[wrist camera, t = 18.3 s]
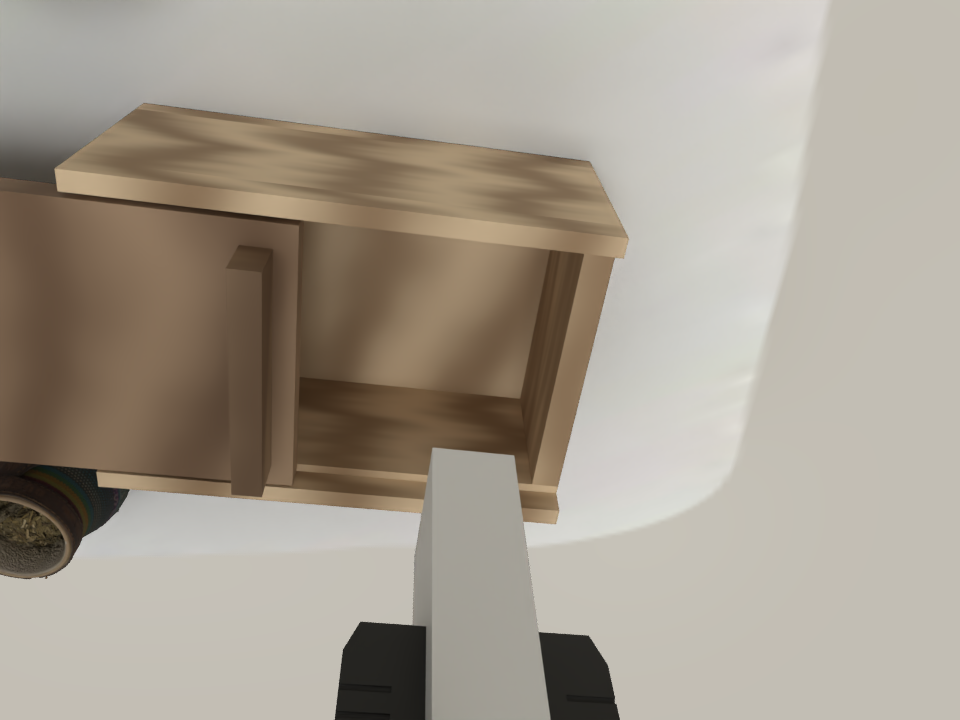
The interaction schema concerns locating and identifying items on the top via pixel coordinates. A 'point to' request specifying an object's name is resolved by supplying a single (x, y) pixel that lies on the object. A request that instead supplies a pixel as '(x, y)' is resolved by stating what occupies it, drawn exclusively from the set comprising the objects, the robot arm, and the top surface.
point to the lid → (149, 337)
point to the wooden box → (396, 292)
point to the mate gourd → (49, 515)
